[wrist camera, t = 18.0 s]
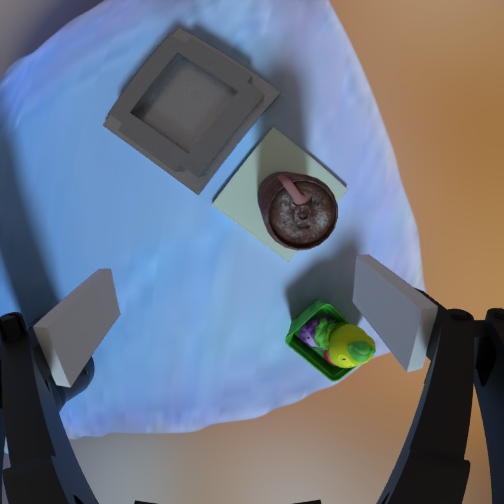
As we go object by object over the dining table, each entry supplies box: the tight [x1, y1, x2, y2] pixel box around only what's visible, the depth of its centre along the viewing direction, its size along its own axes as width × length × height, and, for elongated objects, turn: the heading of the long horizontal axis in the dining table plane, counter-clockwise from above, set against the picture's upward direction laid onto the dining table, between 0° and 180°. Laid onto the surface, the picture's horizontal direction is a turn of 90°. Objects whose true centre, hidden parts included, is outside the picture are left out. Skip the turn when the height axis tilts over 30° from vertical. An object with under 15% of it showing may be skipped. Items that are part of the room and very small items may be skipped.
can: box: [257, 171, 338, 250], centre depth 29 cm, size 6×6×14 cm
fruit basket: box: [285, 299, 376, 382], centre depth 36 cm, size 11×9×11 cm
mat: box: [212, 127, 348, 262], centre depth 36 cm, size 12×12×1 cm
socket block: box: [103, 28, 280, 195], centre depth 31 cm, size 16×16×4 cm
